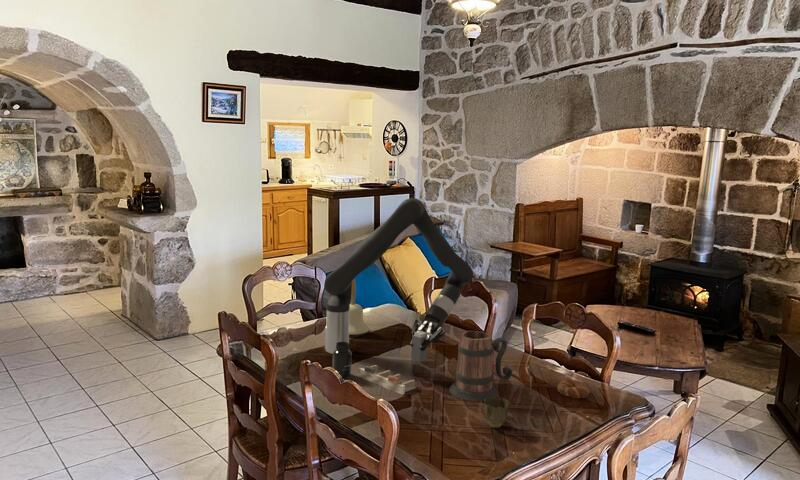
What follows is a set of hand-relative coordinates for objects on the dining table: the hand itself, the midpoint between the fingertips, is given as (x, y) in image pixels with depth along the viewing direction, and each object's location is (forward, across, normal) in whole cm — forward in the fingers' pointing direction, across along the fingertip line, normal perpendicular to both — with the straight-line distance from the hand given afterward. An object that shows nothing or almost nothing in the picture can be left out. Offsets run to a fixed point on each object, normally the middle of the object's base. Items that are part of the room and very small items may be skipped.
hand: (416, 348), depth 211 cm
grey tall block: (+2, 0, +5) cm, 5 cm away
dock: (+15, -4, +1) cm, 16 cm away
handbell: (-5, -56, +22) cm, 61 cm away
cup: (+15, +42, +1) cm, 45 cm away
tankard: (+1, +22, +15) cm, 27 cm away
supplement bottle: (+21, -20, -4) cm, 29 cm away
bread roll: (-15, +45, +30) cm, 56 cm away
